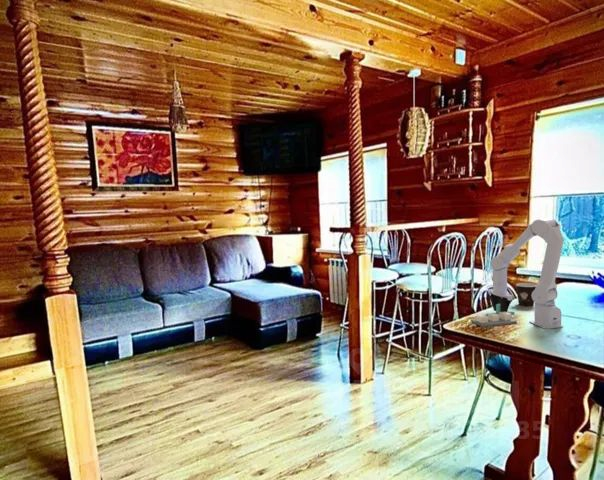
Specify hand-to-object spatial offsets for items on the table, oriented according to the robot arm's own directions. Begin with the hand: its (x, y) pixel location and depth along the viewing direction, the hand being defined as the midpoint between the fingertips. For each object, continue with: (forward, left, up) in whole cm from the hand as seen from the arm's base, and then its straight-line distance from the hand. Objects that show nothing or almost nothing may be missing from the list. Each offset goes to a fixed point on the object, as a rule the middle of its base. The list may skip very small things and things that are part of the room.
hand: (500, 312), depth 180 cm
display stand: (-8, +9, -1) cm, 12 cm away
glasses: (0, 0, -1) cm, 1 cm away
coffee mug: (+9, -22, -2) cm, 24 cm away
